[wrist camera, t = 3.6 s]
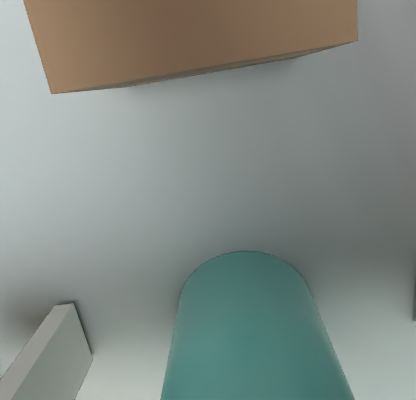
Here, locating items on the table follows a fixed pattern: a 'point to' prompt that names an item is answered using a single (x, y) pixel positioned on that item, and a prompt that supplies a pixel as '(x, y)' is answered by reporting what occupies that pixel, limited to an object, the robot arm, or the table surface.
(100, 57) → the walnut cube
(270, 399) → the teal canister
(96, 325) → the table surface
